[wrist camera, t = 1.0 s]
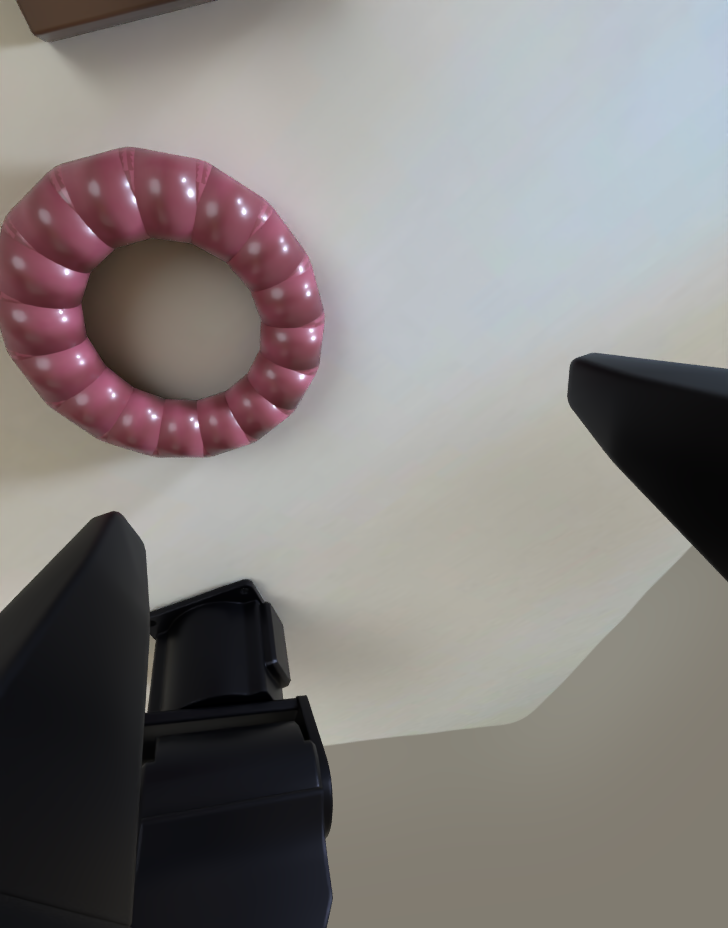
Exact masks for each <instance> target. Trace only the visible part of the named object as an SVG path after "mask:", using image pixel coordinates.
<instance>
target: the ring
mask: <svg viewBox="0 0 728 928" xmlns="http://www.w3.org/2000/svg"><path fill="white" fill-rule="evenodd" d="M149 238H156V239H163V240H171V241H178V242H186V243H192V244H193V245H195V246H197V247H199V248H201V249H203V250H204V251H206V252H208V253H210V254H212V255H214V256H215V257H217V258H219V259H221V260H223V261H225V262H226V263H227V264H228V265H229V266H230V268H231V269H232V270H233V271H234V272H235V273H236V274H237V276H238V277H239V278H240V279H241V280H242V281H243V282H244V284H245V285H246V286H247V287H248V288H249V289H250V291H251V294H252V297H253V299H254V302H255V305H256V308H257V310H258V313H259V316H260V319H261V334H260V350H259V352H258V354H257V356H256V358H255V360H254V362H253V364H252V366H251V368H250V370H249V372H248V373H247V374H246V375H245V376H244V377H243V378H241V379H240V380H239V381H238V382H237V383H235V384H234V385H233V386H232V387H231V388H229V389H228V390H227V391H225V392H222V393H219V394H216V395H212V396H209V397H206V398H203V399H200V400H178V399H164V398H161V397H158V396H156V395H153V394H150V393H148V392H145V391H142V390H139V389H137V388H134V387H132V386H131V385H130V384H128V383H127V382H126V381H125V380H123V379H122V378H121V377H120V376H118V375H117V374H116V373H115V372H113V371H112V370H111V369H109V368H108V367H107V366H106V365H105V364H104V362H103V361H102V359H101V358H100V356H99V354H98V353H97V351H96V350H95V348H94V346H93V345H92V343H91V342H90V340H89V338H88V337H87V334H86V328H85V322H84V316H83V310H82V304H81V302H82V299H83V295H84V292H85V289H86V286H87V283H88V279H89V276H90V273H91V271H92V270H93V269H94V268H95V267H96V266H97V265H99V264H100V263H101V262H102V261H103V260H104V259H105V258H106V257H107V256H108V255H109V254H110V253H111V252H112V251H113V250H114V249H115V248H118V247H122V246H125V245H129V244H132V243H136V242H139V241H143V240H146V239H149ZM324 320H325V315H324V309H323V305H322V302H321V298H320V294H319V291H318V287H317V283H316V280H315V276H314V272H313V269H312V265H311V262H310V260H309V257H308V255H307V254H306V252H305V250H304V249H303V248H302V246H301V245H300V244H299V242H298V241H297V240H296V238H295V237H294V235H293V234H292V233H291V231H290V230H289V229H288V227H287V226H286V225H285V223H284V222H283V221H282V219H281V218H280V216H279V215H278V214H277V212H276V211H275V210H274V208H273V207H272V206H271V205H270V204H269V203H268V202H267V201H266V200H265V199H263V198H262V197H261V196H259V195H258V194H256V193H255V192H253V191H251V190H250V189H248V188H247V187H245V186H244V185H242V184H241V183H239V182H238V181H236V180H234V179H233V178H231V177H230V176H228V175H227V174H225V173H224V172H222V171H220V170H219V169H217V168H216V167H214V166H213V165H211V164H209V163H207V162H205V161H202V160H199V159H195V158H189V157H184V156H179V155H173V154H168V153H163V152H157V151H152V150H147V149H141V148H136V147H123V148H118V149H114V150H110V151H107V152H103V153H99V154H96V155H92V156H88V157H85V158H81V159H77V160H74V161H70V162H66V163H63V164H60V165H58V166H56V167H54V168H53V169H52V170H50V171H49V172H48V173H47V174H46V175H45V176H44V177H43V178H42V179H41V180H40V181H39V182H38V183H37V184H36V185H35V186H34V187H33V188H32V189H31V190H30V191H29V192H28V193H27V194H26V195H25V196H24V197H23V198H22V199H21V200H20V201H19V202H18V203H17V204H16V205H15V206H14V207H13V208H12V209H11V211H10V212H9V213H8V214H7V216H6V217H5V219H4V222H3V224H2V228H1V233H0V329H1V332H2V336H3V340H4V343H5V347H6V349H7V352H8V353H9V355H10V356H11V358H12V359H13V361H14V362H15V363H16V365H17V366H18V367H19V369H20V370H21V371H22V373H23V374H24V375H25V377H26V378H27V379H28V380H29V382H30V383H31V384H32V386H33V387H34V388H35V390H36V391H37V392H38V394H39V395H40V396H41V397H42V399H43V400H44V401H45V402H46V403H47V405H49V406H50V407H51V408H52V409H54V410H55V411H57V412H58V413H60V414H61V415H62V416H64V417H65V418H67V419H68V420H70V421H71V422H73V423H74V424H76V425H77V426H79V427H80V428H82V429H83V430H85V431H86V432H88V433H89V434H91V435H92V436H94V437H95V438H97V439H99V440H101V441H103V442H106V443H109V444H113V445H116V446H119V447H122V448H126V449H129V450H132V451H136V452H139V453H142V454H145V455H149V456H153V457H160V458H161V457H211V456H215V455H218V454H221V453H224V452H227V451H230V450H233V449H236V448H239V447H242V446H245V445H248V444H251V443H253V442H256V441H257V440H259V439H260V438H262V437H263V436H264V435H265V434H267V433H268V432H269V431H270V430H272V429H273V428H274V427H276V426H277V425H278V424H279V423H281V422H282V421H283V420H284V419H286V418H287V417H288V416H289V415H291V414H292V413H293V412H294V411H295V409H296V408H297V406H298V404H299V402H300V401H301V399H302V397H303V395H304V394H305V392H306V390H307V388H308V387H309V385H310V383H311V381H312V380H313V378H314V376H315V374H316V372H317V370H318V367H319V362H320V354H321V346H322V338H323V330H324Z"/></svg>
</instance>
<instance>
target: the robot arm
mask: <svg viewBox="0 0 728 928" xmlns="http://www.w3.org/2000/svg"><path fill="white" fill-rule="evenodd" d="M567 397H568V402H569V405H570V407H571V408H572V410H573V411H574V412H575V413H576V415H577V416H578V417H579V419H580V420H581V421H582V423H583V424H584V425H585V427H586V428H587V429H588V431H589V432H590V433H591V434H592V436H593V437H594V438H595V440H596V441H597V442H598V444H599V445H600V446H601V448H602V449H603V450H604V451H605V453H606V454H607V455H608V456H609V458H610V459H611V460H612V461H613V462H614V463H615V465H616V466H617V467H618V468H619V469H620V470H621V471H622V472H623V473H624V474H625V475H626V476H627V477H628V478H629V479H630V480H631V481H632V483H633V484H634V485H635V486H636V487H637V488H638V489H639V490H640V491H641V492H642V493H643V494H644V495H645V496H646V497H647V498H648V499H649V500H650V501H651V502H652V503H653V504H654V505H655V506H656V508H657V509H658V510H659V511H660V512H661V513H662V514H663V515H664V516H665V517H666V518H667V519H668V520H669V521H670V522H671V523H672V524H673V525H674V526H675V527H676V528H677V529H678V530H679V531H680V533H681V534H682V535H683V536H684V537H685V538H686V539H687V540H688V541H689V542H690V543H691V544H692V545H693V546H694V547H695V548H696V549H697V550H698V551H699V552H700V553H701V554H702V555H703V556H704V557H705V559H707V560H708V562H709V563H710V564H711V565H712V566H713V567H714V568H715V569H716V570H717V571H718V572H719V573H720V574H721V575H722V576H723V577H724V578H725V579H726V580H727V581H728V369H724V368H716V367H708V366H700V365H691V364H683V363H675V362H667V361H658V360H650V359H642V358H634V357H625V356H617V355H609V354H601V353H590V354H587V355H584V356H581V357H578V358H575V359H574V360H573V361H572V362H571V364H570V369H569V381H568V393H567ZM150 635H151V636H152V637H153V638H154V639H155V640H156V643H155V652H154V661H153V669H152V678H151V686H150V695H149V703H148V712H147V713H145V703H146V687H147V671H148V654H149V638H150ZM290 681H291V679H290V672H289V665H288V658H287V650H286V643H285V636H284V629H283V624H282V622H281V620H280V619H279V617H278V615H277V614H276V612H275V610H274V609H273V607H272V605H271V604H270V603H268V602H264V601H263V599H262V597H261V596H260V594H259V592H258V591H257V589H256V587H255V586H254V584H253V582H252V581H250V580H240V581H238V582H235V583H232V584H229V585H226V586H223V587H221V588H218V589H215V590H212V591H209V592H207V593H204V594H201V595H198V596H195V597H192V598H190V599H187V600H184V601H181V602H178V603H175V604H173V605H170V606H167V607H164V608H161V609H158V610H156V611H153V612H150V609H149V594H148V579H147V563H146V550H145V547H144V544H143V542H142V540H141V539H140V537H139V536H138V535H137V533H136V532H135V531H134V529H133V528H132V527H131V525H130V524H129V523H128V522H127V520H126V519H125V518H124V516H123V515H122V514H120V513H119V512H116V511H112V512H109V513H106V514H103V515H100V516H97V517H94V518H93V519H91V520H90V521H89V522H88V523H87V524H86V525H85V526H84V527H83V528H82V529H81V530H80V531H79V532H78V534H77V535H76V536H75V537H74V538H73V539H72V540H71V541H70V542H69V543H68V544H67V545H66V546H65V547H64V548H63V549H62V550H61V551H60V552H59V553H58V554H57V555H56V556H55V557H54V558H53V559H52V560H51V561H50V562H49V563H48V564H47V565H46V566H45V567H44V568H43V569H42V570H41V571H40V573H39V574H38V575H37V576H36V577H35V578H34V579H33V580H32V581H31V582H30V583H29V584H28V585H27V586H26V587H25V588H24V589H23V590H22V591H21V592H20V593H19V594H18V595H17V596H16V597H15V598H14V599H13V600H12V601H11V602H10V603H9V604H8V605H7V606H6V607H5V608H4V609H3V610H2V611H1V613H0V928H327V923H328V919H329V914H330V909H331V904H332V899H333V896H332V888H331V880H330V873H329V866H328V858H327V850H326V841H325V838H326V837H327V836H328V834H329V831H330V828H331V823H332V810H333V798H332V783H331V776H330V770H329V765H328V761H327V757H326V754H325V751H324V748H323V745H322V741H321V738H320V735H319V732H318V729H317V726H316V723H315V719H314V716H313V713H312V710H311V707H310V704H309V701H308V697H307V695H304V696H297V697H296V698H291V699H283V693H282V688H284V687H286V686H288V685H289V683H290Z"/></svg>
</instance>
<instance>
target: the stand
mask: <svg viewBox="0 0 728 928" xmlns="http://www.w3.org/2000/svg"><path fill="white" fill-rule="evenodd" d="M212 1H216V0H16V2H17V4H18V6H19V8H20V10H21V12H22V14H23V16H24V18H25V20H26V22H27V24H28V26H29V28H30V30H31V32H32V33H33V34H34V36H36V37H38V38H40V39H42V40H44V41H45V42H53V41H57V40H61V39H65V38H69V37H73V36H77V35H81V34H85V33H89V32H93V31H97V30H101V29H105V28H109V27H113V26H117V25H121V24H124V23H128V22H132V21H136V20H140V19H144V18H148V17H152V16H156V15H160V14H164V13H168V12H172V11H176V10H180V9H184V8H188V7H192V6H196V5H200V4H204V3H208V2H212Z"/></svg>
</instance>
